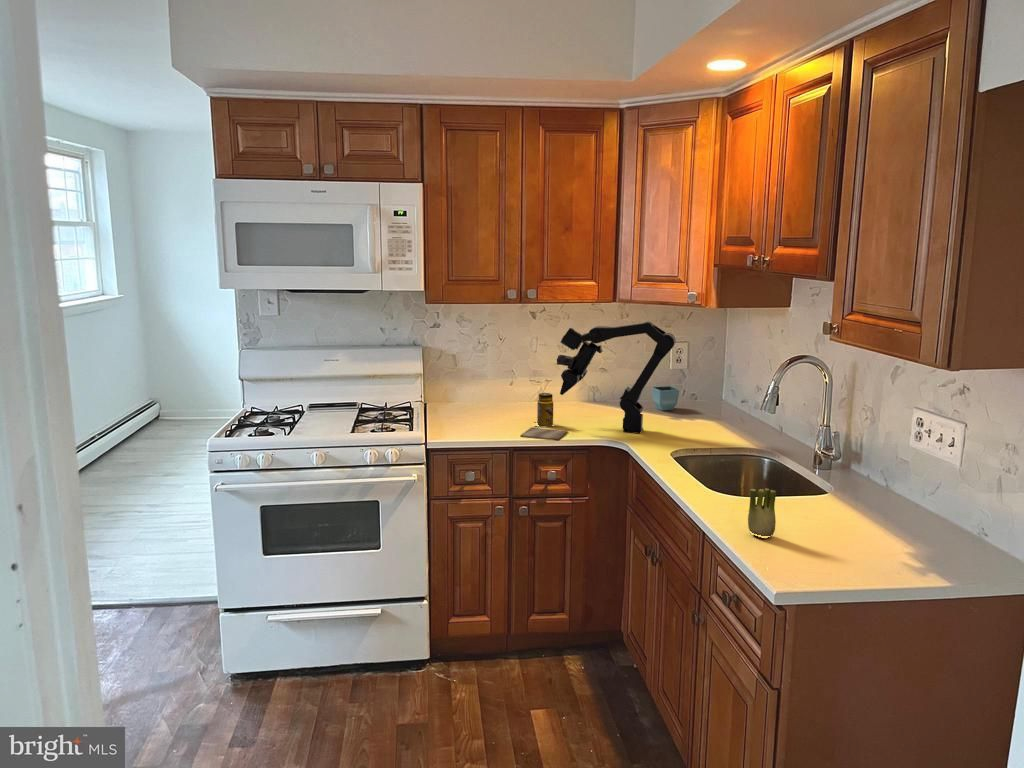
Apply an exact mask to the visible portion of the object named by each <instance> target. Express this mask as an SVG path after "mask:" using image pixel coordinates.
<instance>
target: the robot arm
mask: <svg viewBox="0 0 1024 768" xmlns="http://www.w3.org/2000/svg"><path fill="white" fill-rule="evenodd" d="M643 334H645V335H647V336H648V337H650V338H651V339H652V340H653V341H654V343H656V345H655V348H654V350H653V352H652V356H651V357H650V359H649V360H648V362H647V363H646V365H645V366H644V368H643V370H642V372H641V373H640V374H639V376H638V377H637V379H636V381H635V383H634V384H633V385H632V387H631V388H630V387H629V386H626V388H625V389H624V392H623V394H622V395H621V396H620V397H619V399H620V401H619V407H620V409H621V410H622V411H623V412H624V417H623V418H622V432H623V431H628V432H627V433H632V432H638V433H637V434H641V433H642V432H643V431H644V428H643V427H644V425H643V423H644V422H643V421H644V420H643V419H644V414H643V413H642V412H643V410H644V406H642V404H641V403H640V402H639V400H640V398H641V396H642V392H643V390H644V388H645V386H646V385H647V384H648V382H649V380H650V379H651V377H652V375H653V373H654V372H655V370H657V367H658V366H659V364H660V363H661V361H662V360H663V359H664V358H665V357H666V355H667V354H669V352H670V351H671V350H672V349H673V348H674V346H675V344H676V341H677V340H676V336H675V335H674V334H673V333H671V332H666V331H665V330H663V329H662V328H660V327H658V326H657V325H655V324H653V323H652V322H651V321H645V322H641V323H640V322H639V323H633V324H632V323H631V324H626V325H625V324H624V325H619V326H604V325H598V326H594V327H592V328H591V329H589V331H588V332H586V333H583V334H582V333H580V332H578V331H576V330H575V328H572V327H569V328H568V330H567V331H566V332H565V333H564V335H562V338H561V339H560V344H562V345H564V346H565V347H567V348H568V349H570V350H571V351H575V350H576V351H577V350H578V352H577V354H575V356H570V355H566V354H559V355H557V358H556V365H557V366H565V367H567V369H564V370H563V371H562V373H560V377H561V380H562V385H561V388H560V391H559V395H561V396H563V395H565V394H566V393H567V392H568V391H569V390H571V389H572V388H573V387H574V386H576V385H577V384H578V383H579V382H580V381H581V380H583V379H584V378H585V377H586V375H587V373H588V370H587V368H588V367H589V366H590V364H591V361H592V360H593V358H594V356H595V355H596V353H599V354H601V353H603V352H604V351H603V348H602V345H598V344H599V343H600V344H601V343H603V342H606V341H608V340H611V339H615V338H620V337H628V336H635V335H643ZM642 430H643V431H642ZM641 431H642V432H641ZM640 432H641V433H640Z"/></svg>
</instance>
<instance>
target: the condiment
mask: <svg viewBox="0 0 1024 768" xmlns="http://www.w3.org/2000/svg"><path fill="white" fill-rule="evenodd" d="M536 408H537V409H536V410H537V413H536V414H537V419H536V420H537V421H533V422H534V423H536V422H537V423H538V425H539V426H537V427H536V428H541V427H540V426H552V425H553V424H554V401H553V393H550V392H541V393H539V394H538V400H537V407H536ZM553 428H554V426H553Z"/></svg>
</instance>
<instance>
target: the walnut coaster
mask: <svg viewBox="0 0 1024 768" xmlns="http://www.w3.org/2000/svg"><path fill="white" fill-rule="evenodd" d="M566 434H568V430H562V429H552V428H543V427H530V428H528V429H527V430H526V431H524V432H522V433H521V434H519V435H520V436H519V437H520V438H529V439H530V438H531V439H532V438H533V439H540V440H552V441H559V440H561V439H562V438H563V436H565V435H566Z"/></svg>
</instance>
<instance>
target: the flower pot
mask: <svg viewBox="0 0 1024 768" xmlns="http://www.w3.org/2000/svg"><path fill="white" fill-rule="evenodd" d="M651 393H652V400H653V403H654V405H655V407H656V409H658V410H660V411H662V410H663V411H673V410H674V409H675V407H677V404H678V401H679V396H680V389H678V388H676V387H674V386H672V385H671V386H669V385H665V386H652V387H651Z"/></svg>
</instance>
